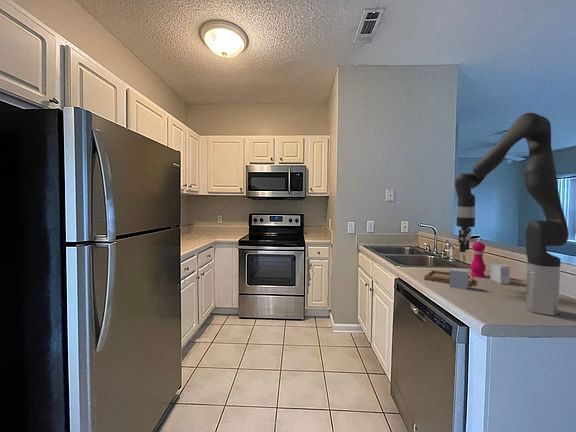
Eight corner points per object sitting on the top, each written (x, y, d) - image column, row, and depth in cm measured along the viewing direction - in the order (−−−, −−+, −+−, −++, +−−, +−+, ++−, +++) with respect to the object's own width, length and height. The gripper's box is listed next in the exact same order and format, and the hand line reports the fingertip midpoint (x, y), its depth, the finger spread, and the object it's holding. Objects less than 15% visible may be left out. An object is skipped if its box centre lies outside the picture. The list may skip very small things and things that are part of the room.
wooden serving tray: (469, 286, 143) (469, 281, 143) (424, 279, 155) (424, 275, 155) (473, 279, 156) (473, 275, 156) (431, 274, 168) (431, 270, 168)
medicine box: (509, 284, 148) (510, 266, 148) (500, 284, 148) (501, 266, 148) (498, 280, 156) (499, 263, 155) (489, 280, 156) (490, 263, 156)
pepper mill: (470, 273, 169) (471, 238, 168) (485, 275, 165) (487, 239, 164) (469, 276, 164) (470, 239, 163) (485, 278, 159) (486, 240, 158)
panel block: (466, 289, 139) (467, 272, 138) (449, 286, 143) (450, 270, 142) (467, 287, 142) (468, 270, 142) (451, 284, 146) (451, 268, 146)
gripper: (472, 217, 134) (470, 253, 134) (477, 216, 144) (476, 249, 145) (453, 216, 138) (451, 251, 139) (460, 215, 149) (458, 248, 150)
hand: (464, 250), depth 142 cm, fingers open, 8 cm apart
